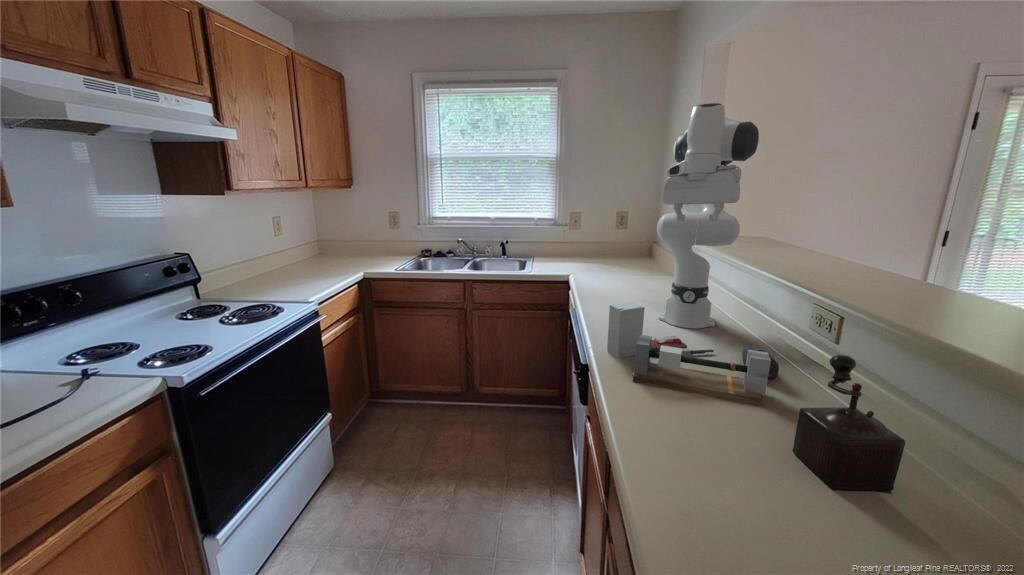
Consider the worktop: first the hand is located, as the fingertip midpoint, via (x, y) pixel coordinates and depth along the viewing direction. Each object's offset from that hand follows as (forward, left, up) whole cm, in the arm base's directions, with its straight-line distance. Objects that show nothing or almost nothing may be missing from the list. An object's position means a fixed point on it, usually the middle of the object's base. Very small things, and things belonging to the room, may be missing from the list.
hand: (696, 221), depth 110 cm
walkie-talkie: (-3, -2, -39) cm, 39 cm away
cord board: (+17, +4, -39) cm, 42 cm away
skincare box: (+5, -15, -39) cm, 42 cm away
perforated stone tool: (+3, +19, -39) cm, 43 cm away
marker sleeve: (+17, -2, -35) cm, 39 cm away
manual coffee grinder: (+39, +27, -39) cm, 61 cm away
